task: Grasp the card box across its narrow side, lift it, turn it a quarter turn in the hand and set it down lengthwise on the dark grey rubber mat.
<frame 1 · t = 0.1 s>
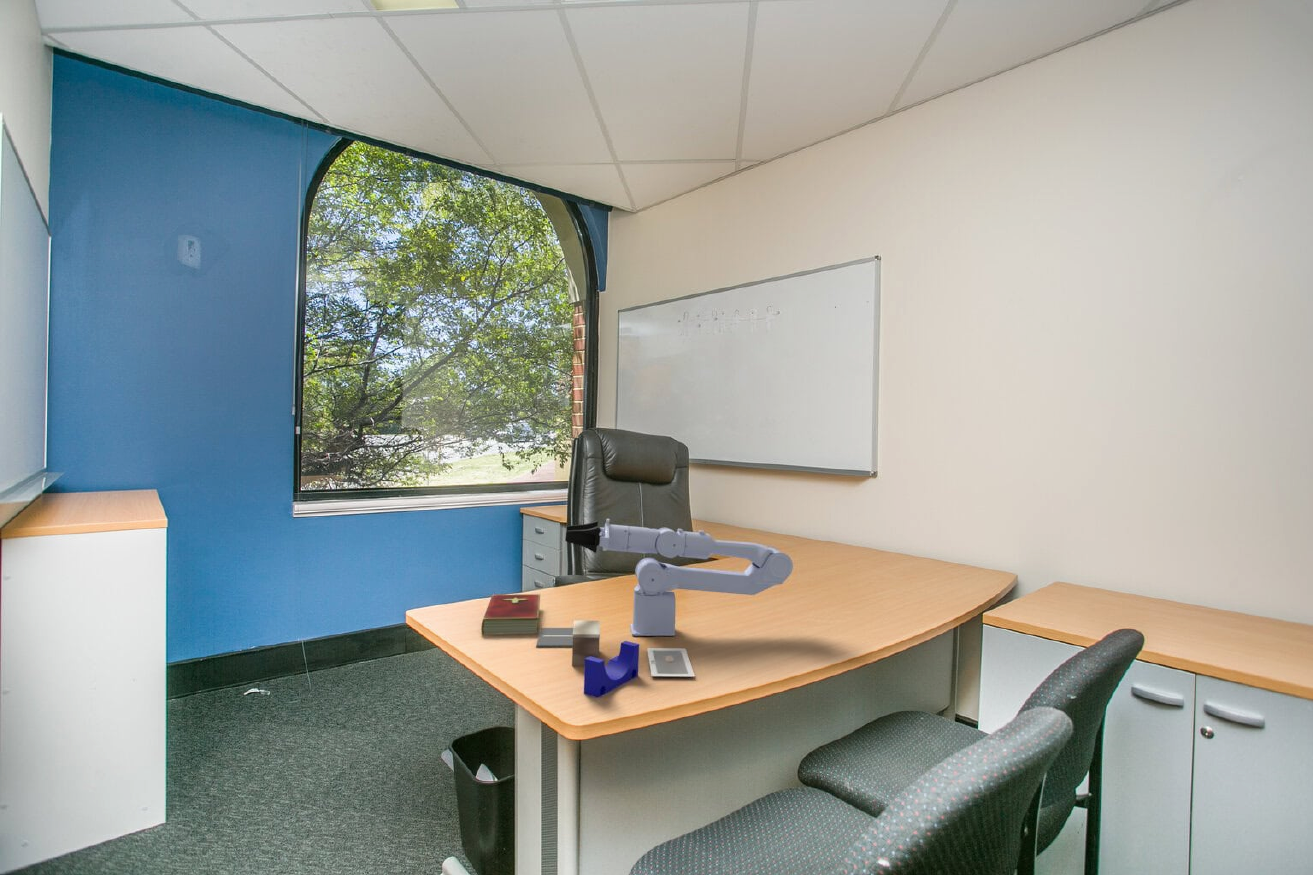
hand: (566, 533, 139), 22 cm above the table, tool horizontal, fingers open, 7 cm apart
hardcover book: (512, 623, 145), on the table
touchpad: (669, 668, 120), on the table
card box: (585, 658, 122), on the table
blue cradle bracket: (608, 685, 110), on the table
mat: (567, 637, 134), on the table
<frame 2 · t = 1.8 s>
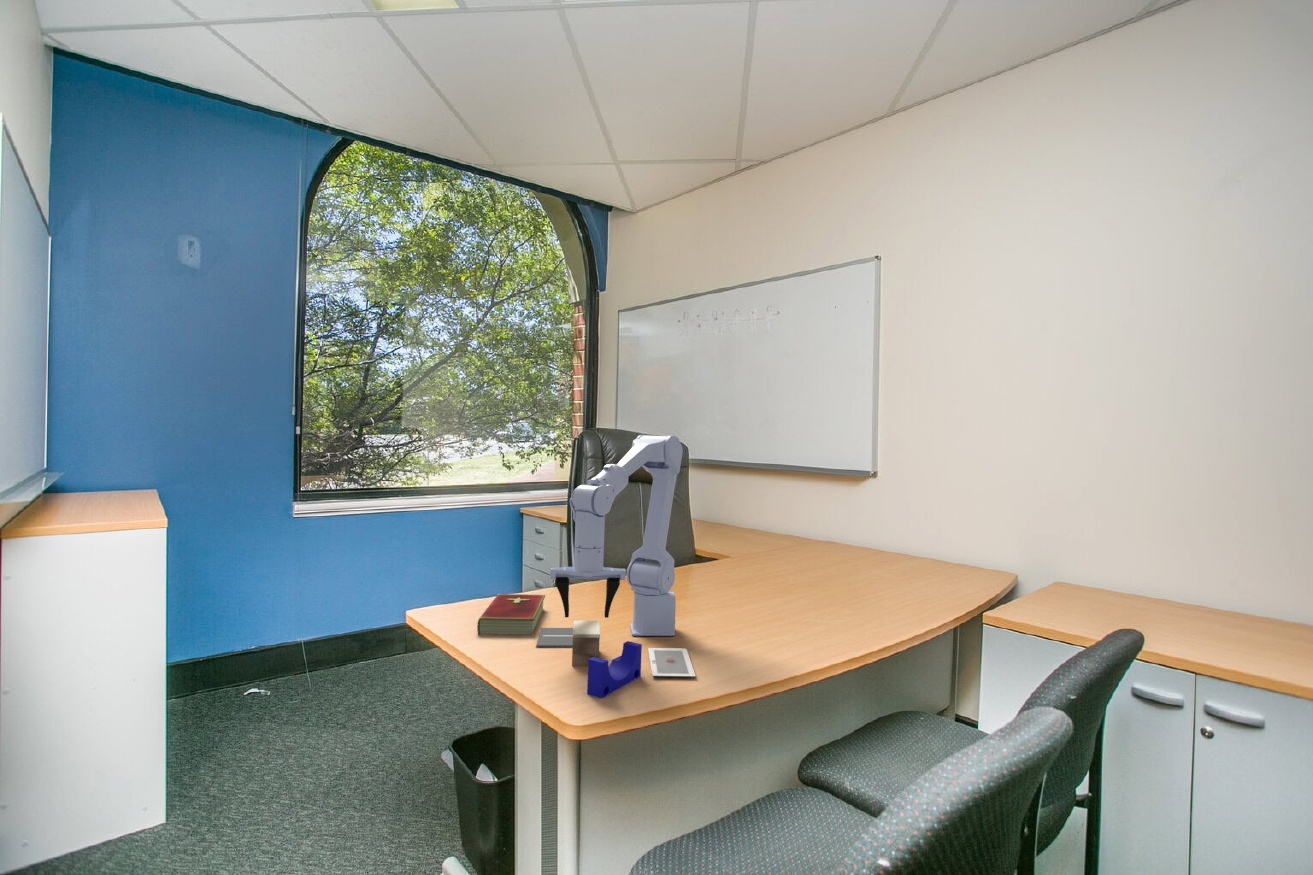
hand: (586, 616, 122), 8 cm above the table, tool pointing down, fingers open, 7 cm apart
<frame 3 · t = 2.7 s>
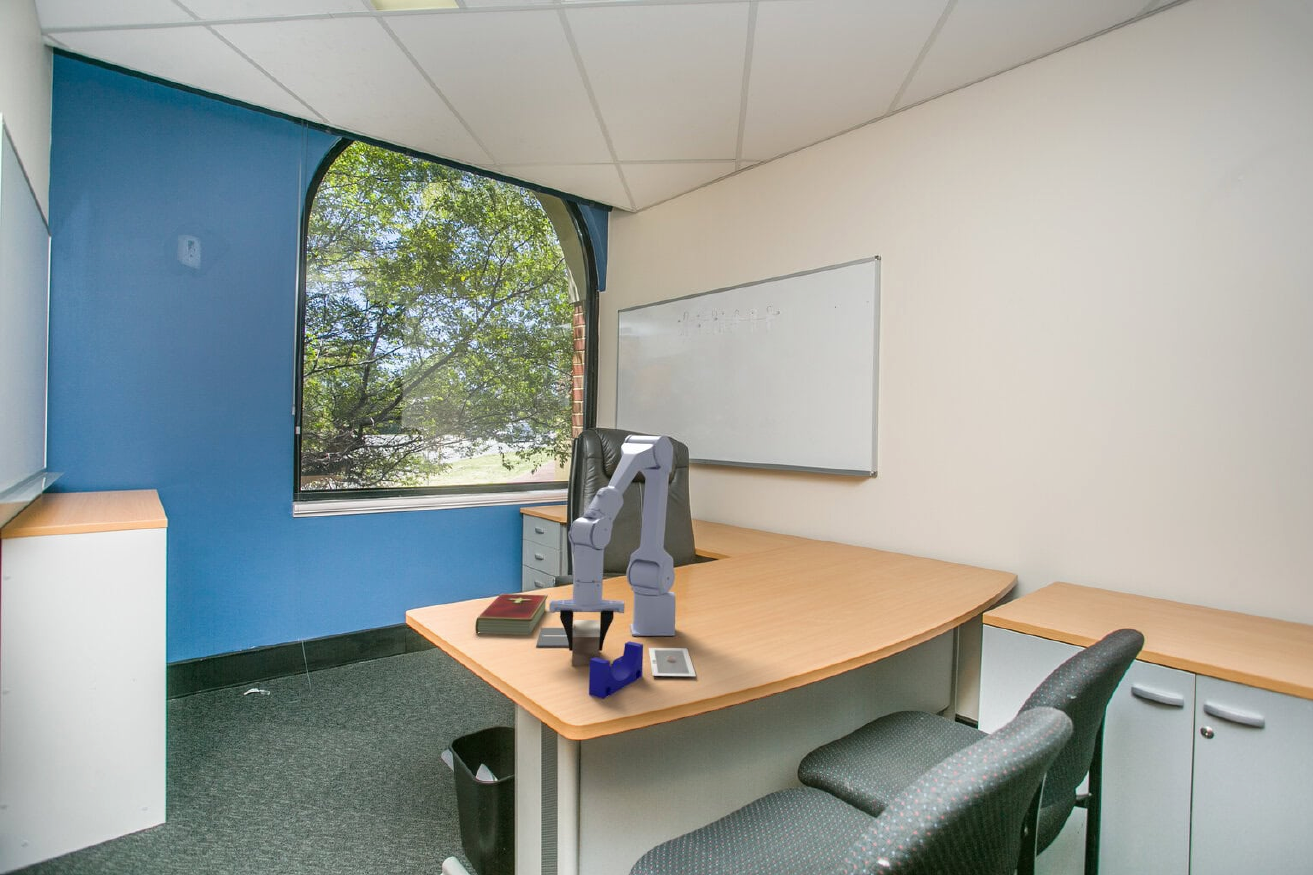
hand: (585, 649, 122), 2 cm above the table, tool pointing down, fingers closed on card box, 5 cm apart
card box: (585, 657, 122), on the table, touching gripper
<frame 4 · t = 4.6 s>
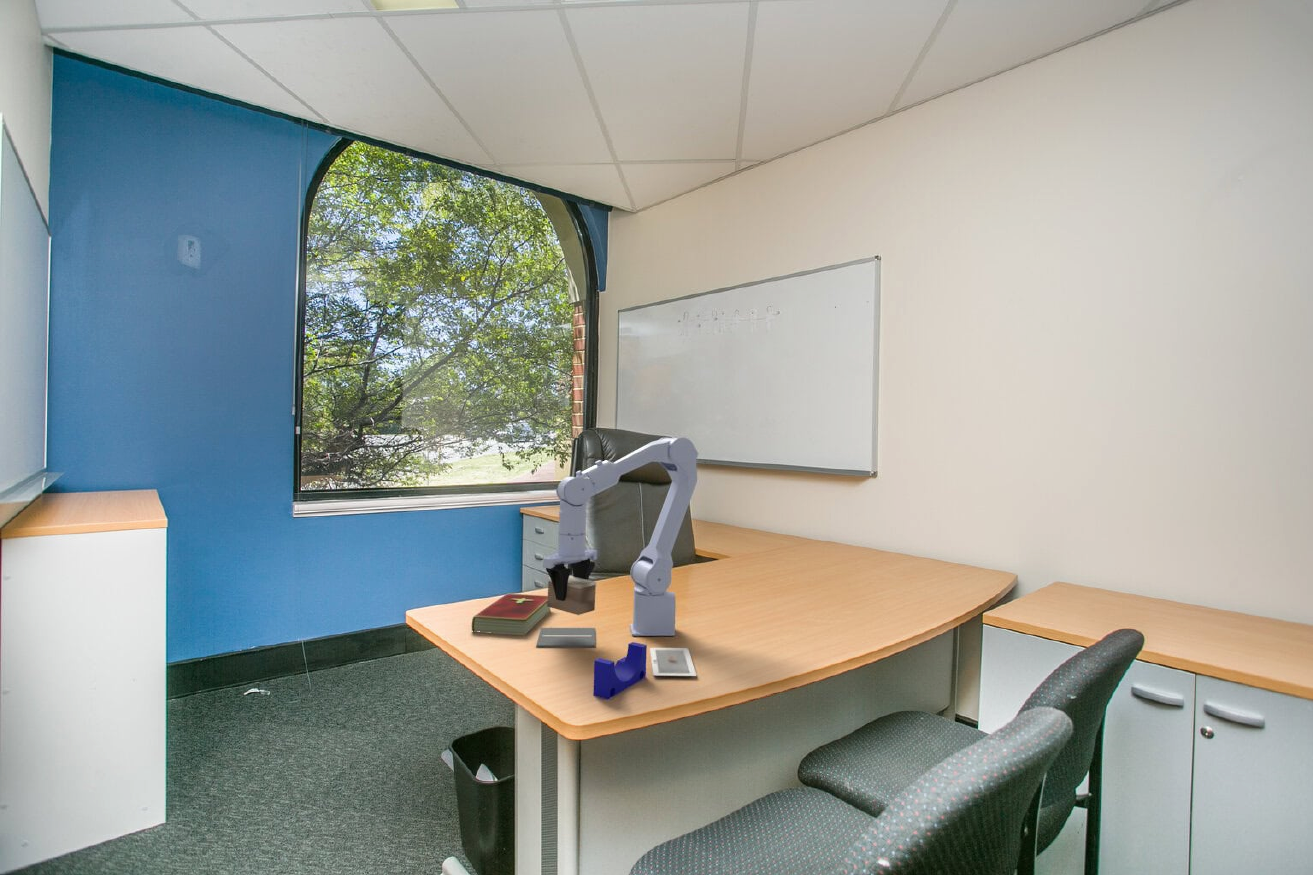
hand: (569, 597, 133), 9 cm above the table, tool pointing down, fingers closed on card box, 5 cm apart
card box: (570, 608, 133), point 7 cm above the table, touching gripper
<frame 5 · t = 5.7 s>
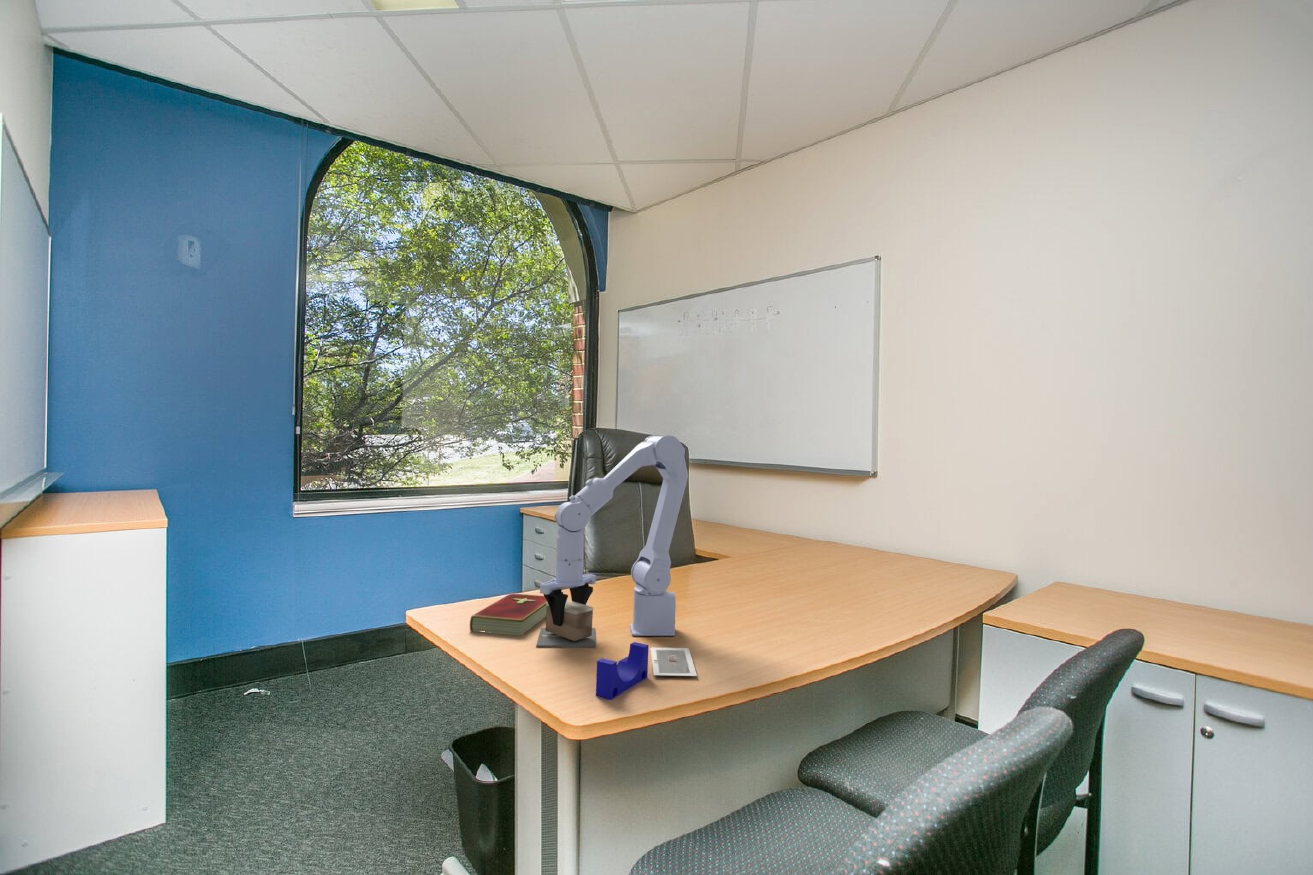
hand: (567, 622, 134), 3 cm above the table, tool pointing down, fingers closed on card box, 5 cm apart
card box: (568, 633, 133), point 1 cm above the table, touching gripper
when the fingers open (3 cm above the table, at t = 6.3 s): card box stays where it is, resting on mat.
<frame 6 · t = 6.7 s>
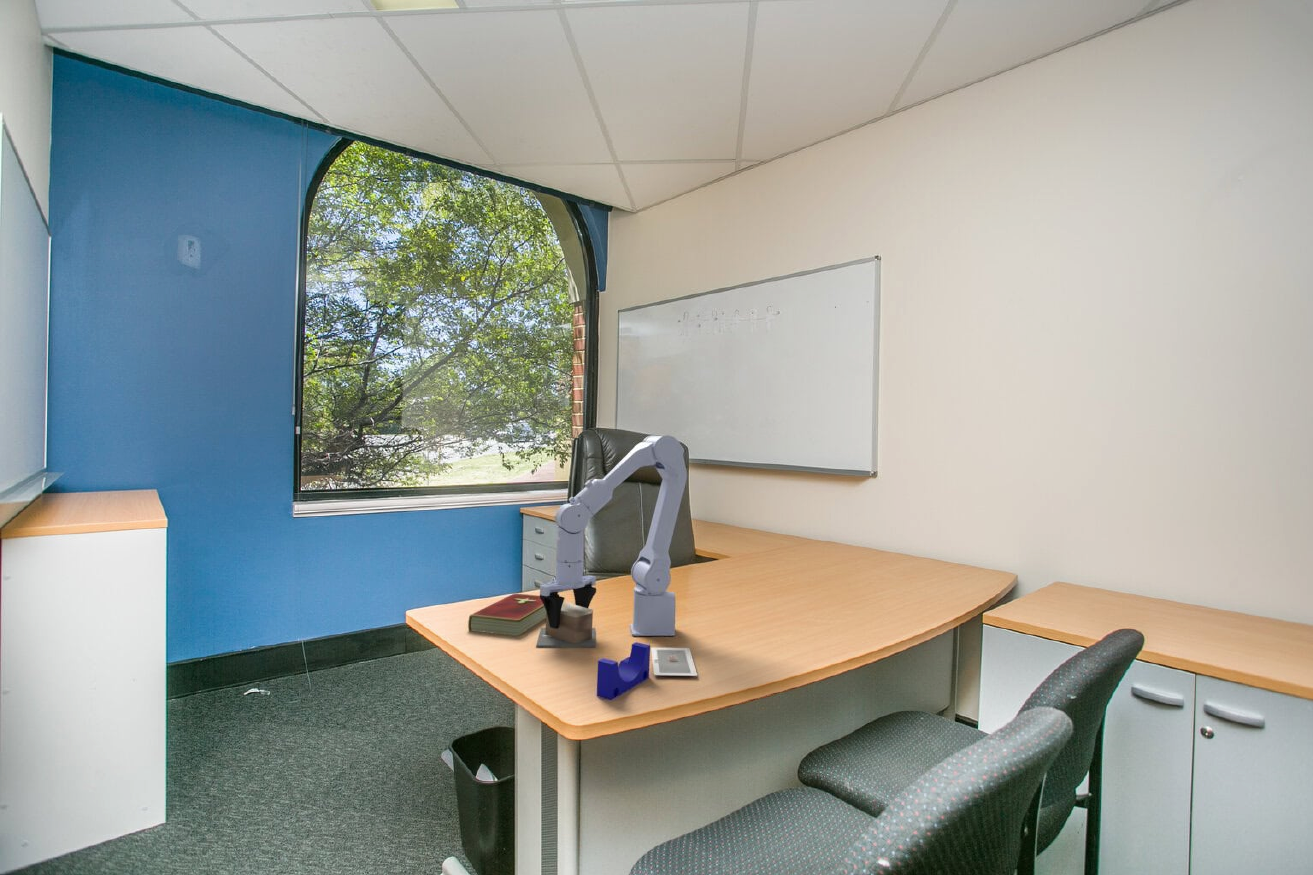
hand: (567, 623, 134), 3 cm above the table, tool pointing down, fingers open, 7 cm apart
card box: (568, 636, 134), resting on mat
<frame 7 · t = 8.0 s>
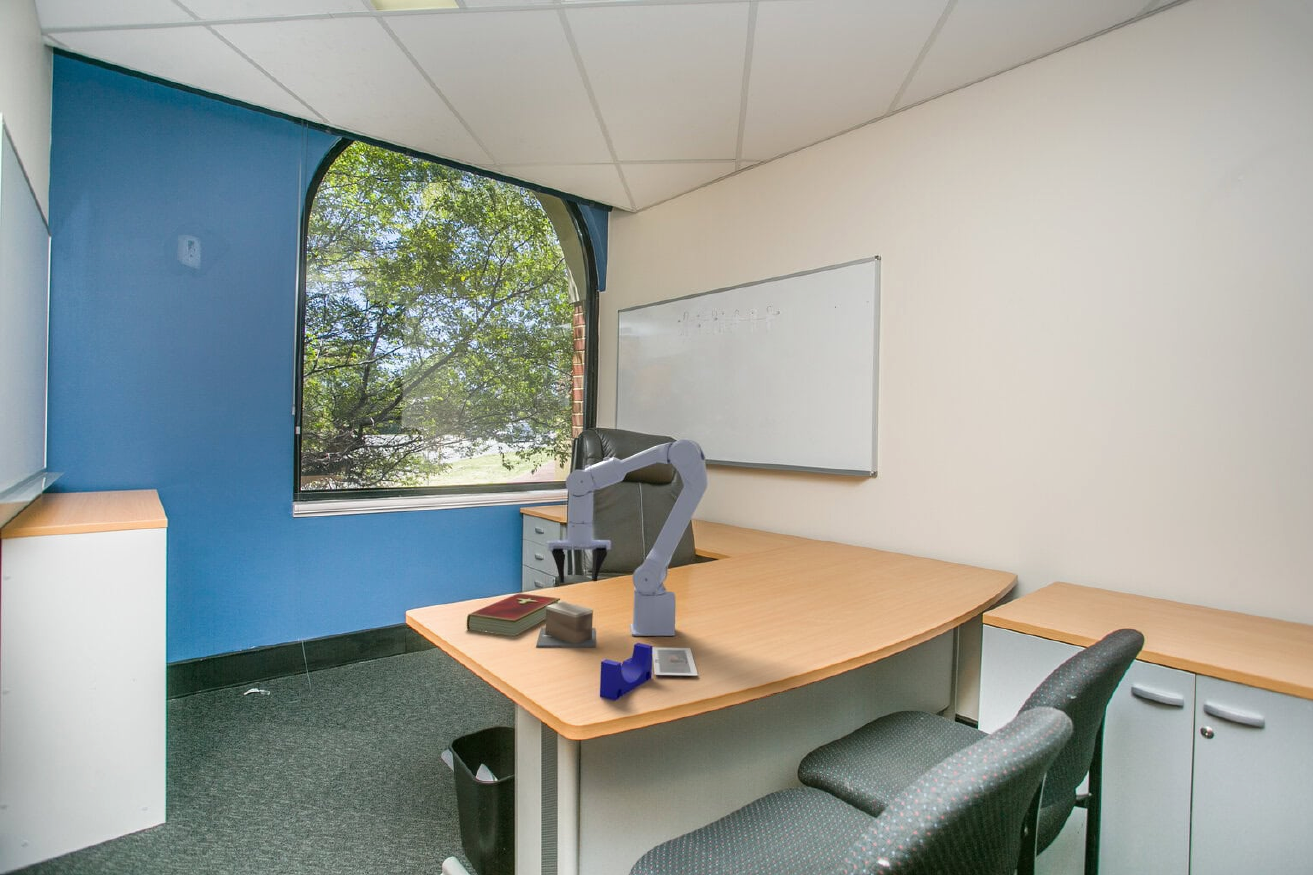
hand: (578, 581, 144), 10 cm above the table, tool pointing down, fingers open, 7 cm apart
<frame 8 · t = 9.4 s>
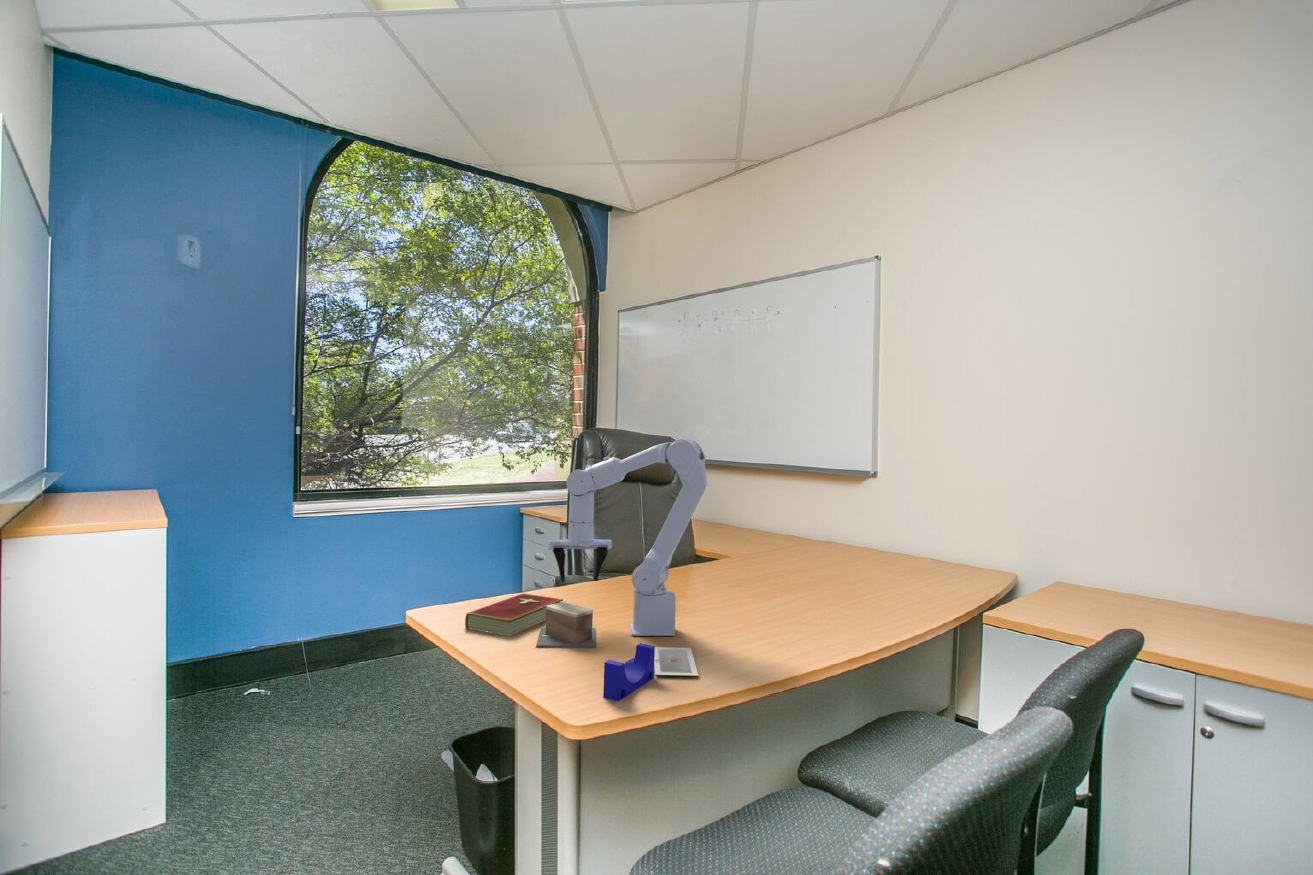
hand: (579, 580, 145), 10 cm above the table, tool pointing down, fingers open, 7 cm apart
at the end: card box inside the target area on the mat (0.4 cm from its centre), point 0.5 cm above the mat's base; card box tilted 1°; the gripper is holding nothing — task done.
